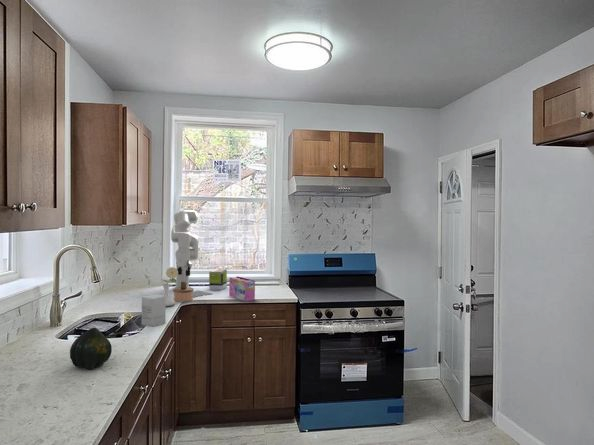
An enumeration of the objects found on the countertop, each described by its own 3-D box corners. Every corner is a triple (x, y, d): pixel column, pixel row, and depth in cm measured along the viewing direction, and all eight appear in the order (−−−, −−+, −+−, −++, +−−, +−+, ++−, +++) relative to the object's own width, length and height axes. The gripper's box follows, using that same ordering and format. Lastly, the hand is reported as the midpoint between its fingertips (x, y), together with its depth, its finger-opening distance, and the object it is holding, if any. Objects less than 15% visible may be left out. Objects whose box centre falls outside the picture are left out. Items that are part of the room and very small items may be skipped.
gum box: (227, 295, 299) (228, 277, 299) (237, 294, 304) (237, 276, 304) (245, 301, 281) (245, 281, 281) (255, 299, 286) (255, 280, 286)
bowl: (170, 299, 283) (170, 290, 282) (185, 296, 292) (186, 288, 292) (180, 302, 275) (181, 293, 274) (196, 299, 284) (196, 290, 284)
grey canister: (154, 320, 227) (154, 293, 227) (165, 323, 222) (166, 295, 222) (140, 324, 219) (141, 296, 219) (152, 327, 215) (152, 298, 214)
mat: (179, 294, 301) (179, 293, 301) (198, 291, 314) (198, 290, 314) (193, 297, 290) (193, 296, 290) (212, 294, 303) (212, 293, 303)
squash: (70, 363, 148) (98, 326, 155) (56, 354, 158) (83, 320, 165) (100, 380, 156) (126, 345, 163) (85, 371, 166) (109, 338, 173)
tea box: (215, 286, 334) (215, 268, 334) (227, 287, 333) (227, 268, 333) (208, 289, 320) (209, 271, 319) (221, 290, 318) (221, 271, 318)
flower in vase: (156, 308, 257) (156, 268, 256) (157, 304, 268) (157, 266, 267) (177, 307, 260) (178, 268, 260) (178, 303, 271) (178, 265, 271)
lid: (169, 290, 282) (169, 281, 282) (186, 288, 293) (186, 279, 293) (180, 293, 274) (180, 284, 273) (197, 290, 284) (197, 281, 284)
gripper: (172, 250, 285) (171, 274, 285) (186, 251, 274) (186, 276, 274) (181, 249, 291) (181, 273, 291) (196, 250, 280) (195, 275, 280)
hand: (183, 275), depth 282 cm, fingers open, 9 cm apart
